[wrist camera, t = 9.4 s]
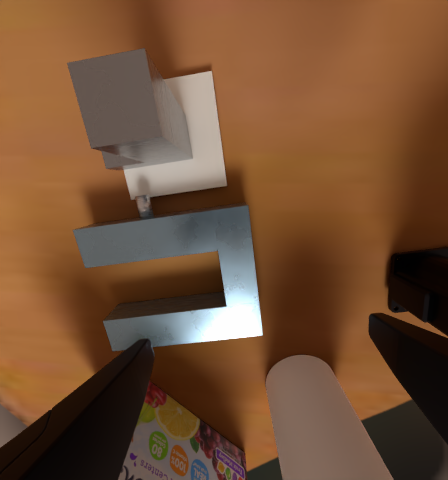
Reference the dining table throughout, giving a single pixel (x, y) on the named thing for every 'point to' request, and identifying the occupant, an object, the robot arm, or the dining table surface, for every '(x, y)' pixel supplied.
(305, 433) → the cup
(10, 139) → the dining table surface
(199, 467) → the snack box
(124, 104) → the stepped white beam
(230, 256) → the frame
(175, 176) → the tile
